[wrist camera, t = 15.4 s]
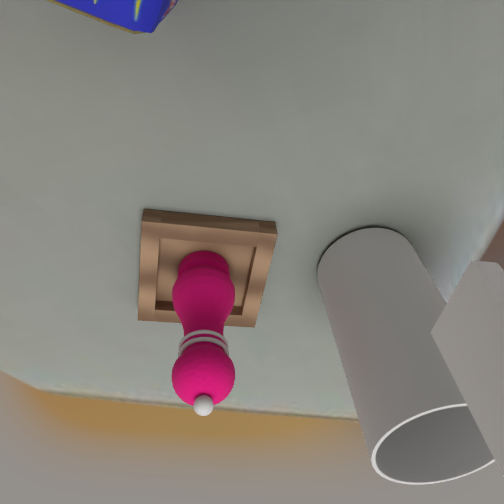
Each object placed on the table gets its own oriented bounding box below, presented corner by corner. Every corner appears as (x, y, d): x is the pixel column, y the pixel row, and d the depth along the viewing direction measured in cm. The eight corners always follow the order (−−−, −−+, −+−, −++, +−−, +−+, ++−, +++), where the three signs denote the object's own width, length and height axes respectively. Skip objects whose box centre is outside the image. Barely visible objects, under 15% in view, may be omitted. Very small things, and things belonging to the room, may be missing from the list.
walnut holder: (144, 208, 52) (141, 221, 50) (274, 221, 55) (277, 234, 53) (139, 306, 61) (137, 320, 59) (252, 313, 63) (254, 327, 61)
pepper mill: (190, 237, 54) (183, 379, 38) (244, 260, 57) (259, 401, 41) (164, 280, 58) (148, 426, 42) (216, 299, 60) (220, 443, 44)
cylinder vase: (308, 238, 57) (365, 422, 37) (411, 214, 56) (527, 389, 36) (322, 309, 64) (376, 494, 44) (413, 289, 63) (510, 468, 43)
